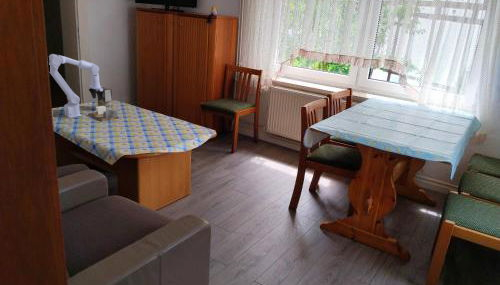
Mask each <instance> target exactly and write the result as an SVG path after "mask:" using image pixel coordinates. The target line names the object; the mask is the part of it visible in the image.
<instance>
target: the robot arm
mask: <svg viewBox="0 0 500 285" xmlns="http://www.w3.org/2000/svg"><path fill="white" fill-rule="evenodd" d="M48 57H49V65H50V72H49V74H50V75H51V76H52V77H53V79H54V80H55V82H56V83H57V84H58V86H59V87H60V88H61V90H62V91H63V92H64V94H65V96H66V98H67V100H68V102H67V103H66V104H64V106H63V107H64V108H63V109H64V110H63V111H64V116H66V117H68V118H69V119H71V118H76V117H83V114H81V111H80V110H81V109H80V101H81V100H80V97H79V96H78V95H77V94H76V93H75V92H74V90H72V88H70V86H69V85H68V84H67V82H66V81H65V78H63V77H62V75H61V74H60V73H59V71H58V69H59V67H60V66H61V64H62V65H63V64H70V65H74V66H77V67H78V69H82V70H84V71H88V72H89V77H90V85H88V86H89V88H88V91H89V93H90V94H91V97H92V100H93V99H96V98H97V101H98V100H99V101H100V100H102V95H103V93H104V91H103V88H102V85H101V84H100V75H99V71H100V67H99V66H98V65H97V64H95V63H93V62H90V61H86V60H85V59H80V60H76V59H74V58H70V57H67V56H63V55H60V54H55V53H51V54H49V56H48ZM97 90H98V91H97Z"/></svg>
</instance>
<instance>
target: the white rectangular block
mask: <svg viewBox="0 0 500 285" xmlns="http://www.w3.org/2000/svg"><path fill="white" fill-rule="evenodd" d="M103 111H106V107H105V106H99V107H98V106H95V112H98V115H100V114H103ZM93 113H94V112H93ZM94 115H95V113H94Z"/></svg>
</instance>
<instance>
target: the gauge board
mask: <svg viewBox="0 0 500 285" xmlns="http://www.w3.org/2000/svg"><path fill="white" fill-rule="evenodd" d="M95 112H96V111H94V112H89V113H87V116H88V117H90V118H92V119H95V120H98V121H100V122H107V121H111V120H112V121H113V120H118V119H120V118H119V117H120V116H118V110H116V109H112V110H109V111H103V114H100V115H96V116H95V115H94V113H95Z"/></svg>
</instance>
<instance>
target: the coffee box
mask: <svg viewBox="0 0 500 285" xmlns="http://www.w3.org/2000/svg"><path fill="white" fill-rule="evenodd" d="M101 88H103V91H104V93H103V95H102V100H100V101H99V100H98V99H97V107H99V106H105V107H106V111H110V110H113V97H112V96H113V93H112V90H113V89H111V88H108V87H105V86H104V87H103V86H101ZM96 91H98V90H96Z"/></svg>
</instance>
